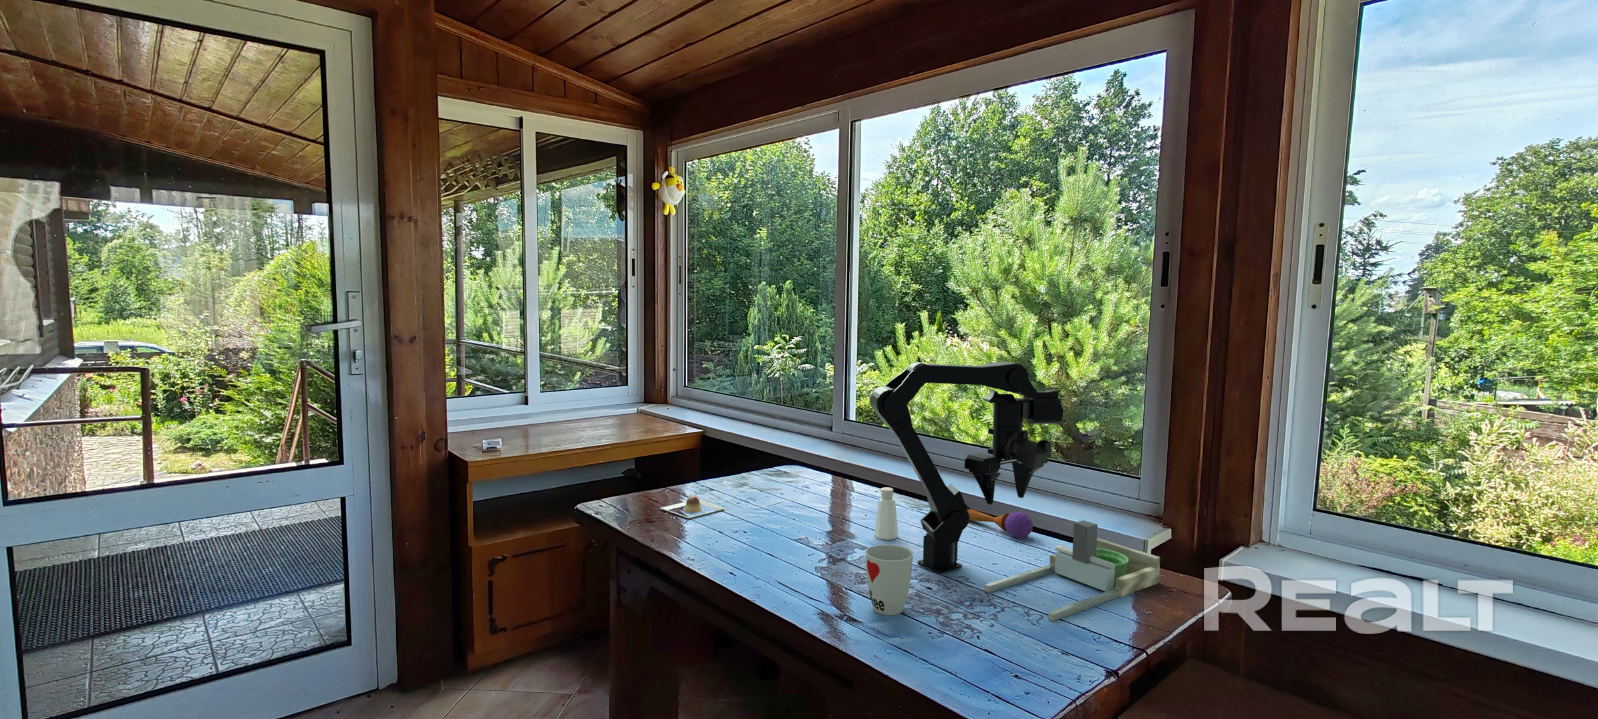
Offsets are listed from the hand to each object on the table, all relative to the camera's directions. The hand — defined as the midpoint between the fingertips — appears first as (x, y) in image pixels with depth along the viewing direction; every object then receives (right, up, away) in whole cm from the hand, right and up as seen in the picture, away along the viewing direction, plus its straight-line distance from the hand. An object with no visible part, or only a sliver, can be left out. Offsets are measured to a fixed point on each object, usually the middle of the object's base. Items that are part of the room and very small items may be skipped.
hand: (1005, 500), depth 144 cm
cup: (-26, -15, -21) cm, 37 cm away
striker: (+12, -14, -9) cm, 20 cm away
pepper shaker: (-22, -12, +18) cm, 31 cm away
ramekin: (+17, -14, -6) cm, 23 cm away
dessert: (-69, -10, +37) cm, 79 cm away
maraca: (+4, -12, +24) cm, 27 cm away
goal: (+9, -14, -11) cm, 20 cm away
